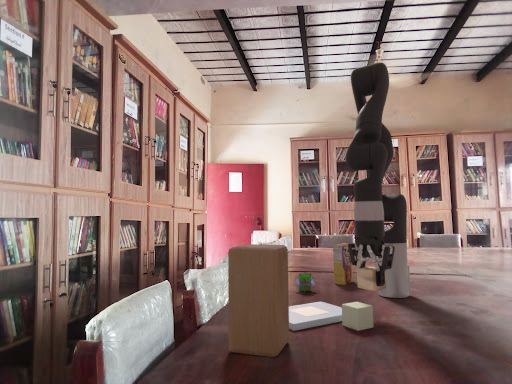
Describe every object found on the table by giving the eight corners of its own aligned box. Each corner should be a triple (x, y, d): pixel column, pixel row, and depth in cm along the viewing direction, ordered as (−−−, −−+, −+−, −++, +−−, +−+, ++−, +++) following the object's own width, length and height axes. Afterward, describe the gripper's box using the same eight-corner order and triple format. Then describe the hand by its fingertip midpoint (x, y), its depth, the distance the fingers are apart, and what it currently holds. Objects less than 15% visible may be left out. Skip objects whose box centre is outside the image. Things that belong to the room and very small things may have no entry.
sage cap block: (357, 322, 89) (356, 301, 89) (373, 327, 85) (372, 305, 85) (342, 325, 86) (341, 304, 87) (357, 331, 82) (357, 308, 82)
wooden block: (290, 341, 75) (288, 244, 76) (277, 359, 66) (275, 248, 67) (245, 337, 78) (244, 243, 80) (226, 353, 69) (226, 247, 70)
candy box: (343, 280, 147) (342, 243, 148) (353, 281, 145) (352, 243, 146) (333, 284, 140) (332, 244, 142) (343, 285, 138) (342, 244, 139)
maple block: (370, 285, 98) (370, 266, 98) (386, 288, 93) (385, 268, 94) (357, 287, 95) (356, 268, 95) (372, 290, 91) (371, 270, 91)
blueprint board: (320, 306, 104) (320, 301, 104) (357, 318, 92) (356, 311, 92) (261, 316, 94) (261, 310, 94) (293, 330, 82) (293, 323, 82)
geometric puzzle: (317, 287, 121) (314, 266, 127) (296, 287, 122) (295, 266, 127) (314, 297, 127) (312, 276, 132) (295, 297, 127) (293, 276, 132)
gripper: (401, 218, 91) (404, 287, 90) (358, 218, 103) (360, 278, 102) (381, 219, 87) (384, 290, 86) (339, 219, 99) (341, 281, 98)
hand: (371, 283), depth 94 cm, fingers closed on maple block, 5 cm apart
